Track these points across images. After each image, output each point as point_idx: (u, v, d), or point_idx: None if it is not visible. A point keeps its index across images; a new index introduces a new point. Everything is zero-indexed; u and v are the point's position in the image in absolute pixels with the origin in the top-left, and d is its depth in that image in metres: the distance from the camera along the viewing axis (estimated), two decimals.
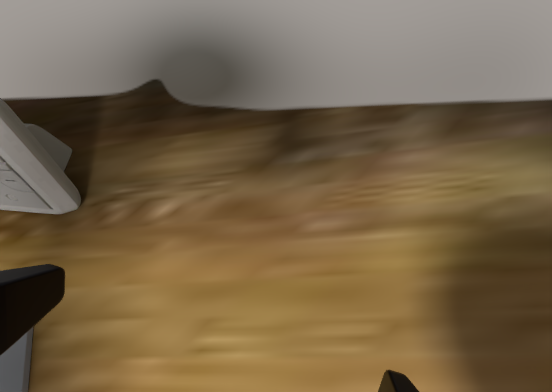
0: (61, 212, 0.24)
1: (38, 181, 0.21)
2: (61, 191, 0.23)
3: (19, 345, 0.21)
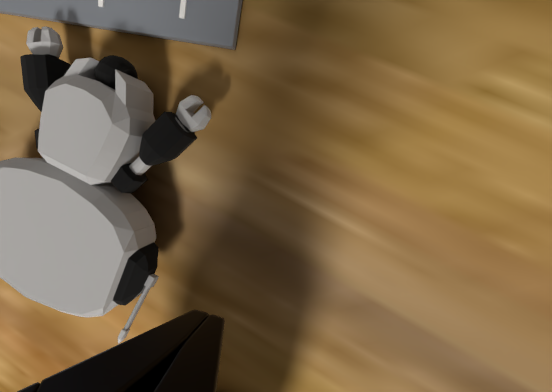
0: None
1: None
2: None
3: None
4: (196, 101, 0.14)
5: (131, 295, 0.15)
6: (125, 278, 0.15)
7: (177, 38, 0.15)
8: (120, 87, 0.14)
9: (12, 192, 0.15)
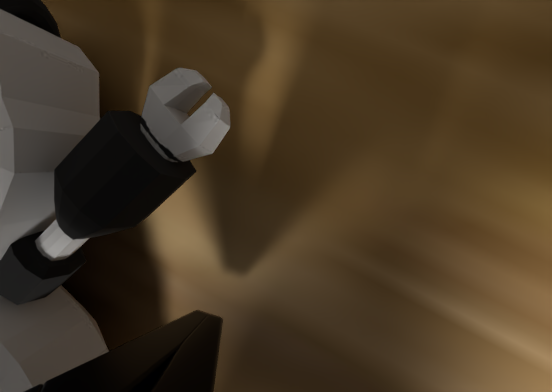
0: None
1: None
2: None
3: None
4: (193, 83, 0.05)
5: None
6: None
7: None
8: None
9: None
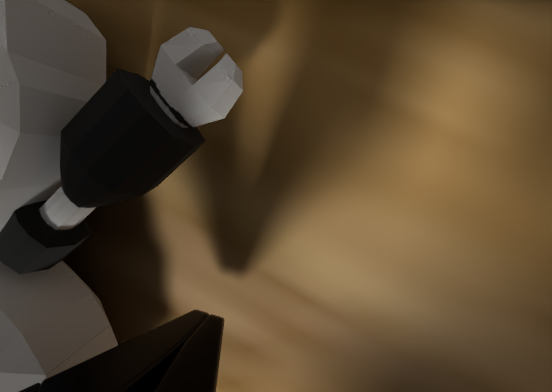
0: None
1: None
2: None
3: None
4: (206, 43, 0.05)
5: None
6: None
7: None
8: None
9: None
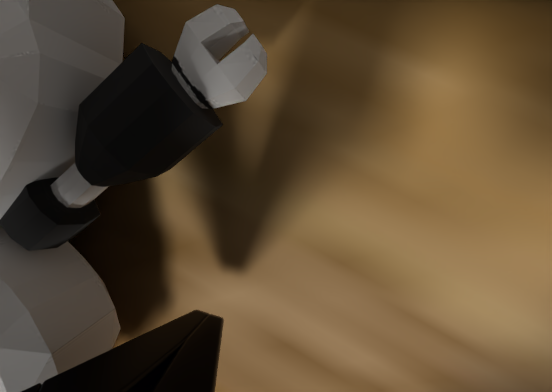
0: None
1: None
2: None
3: None
4: (232, 22, 0.05)
5: None
6: None
7: None
8: None
9: None
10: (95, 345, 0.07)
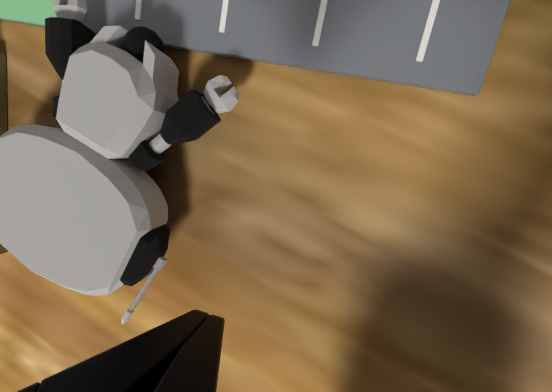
0: None
1: None
2: None
3: (493, 13, 0.12)
4: (225, 81, 0.13)
5: (139, 276, 0.15)
6: (135, 258, 0.14)
7: (407, 82, 0.13)
8: (148, 59, 0.13)
9: (24, 159, 0.14)
10: (160, 217, 0.15)
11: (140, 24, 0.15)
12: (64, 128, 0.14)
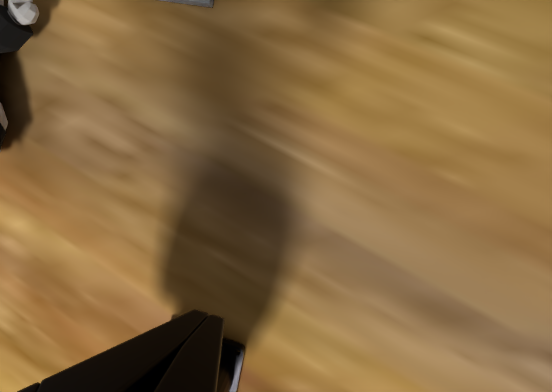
0: None
1: None
2: None
3: None
4: None
5: None
6: None
7: None
8: None
9: None
10: None
11: None
12: None
